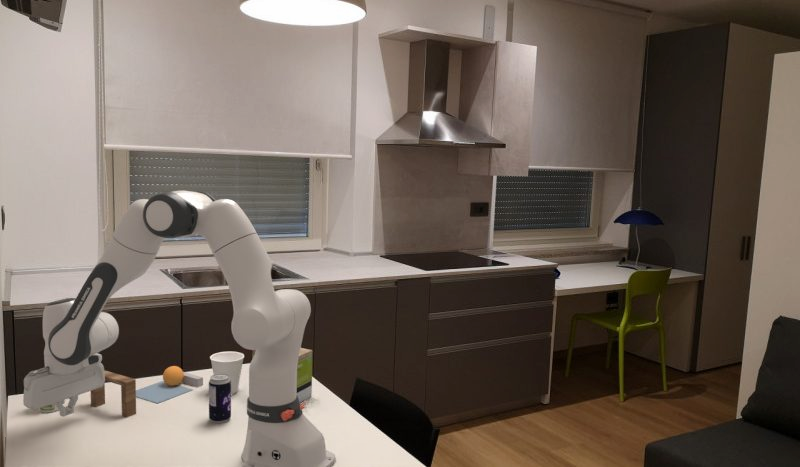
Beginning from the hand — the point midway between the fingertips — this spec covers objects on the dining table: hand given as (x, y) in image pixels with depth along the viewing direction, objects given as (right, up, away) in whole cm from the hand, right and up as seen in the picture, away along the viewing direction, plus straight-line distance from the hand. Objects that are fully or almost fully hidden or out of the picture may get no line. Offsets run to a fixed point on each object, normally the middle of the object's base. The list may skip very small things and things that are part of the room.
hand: (67, 414), depth 166 cm
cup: (+33, -1, +28) cm, 44 cm away
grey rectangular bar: (+19, 0, +35) cm, 40 cm away
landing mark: (+14, -1, +27) cm, 30 cm away
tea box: (+50, -2, +26) cm, 57 cm away
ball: (+16, +3, +32) cm, 36 cm away
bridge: (+6, -2, +13) cm, 14 cm away
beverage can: (+37, -4, +8) cm, 38 cm away
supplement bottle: (-10, -2, +12) cm, 16 cm away
